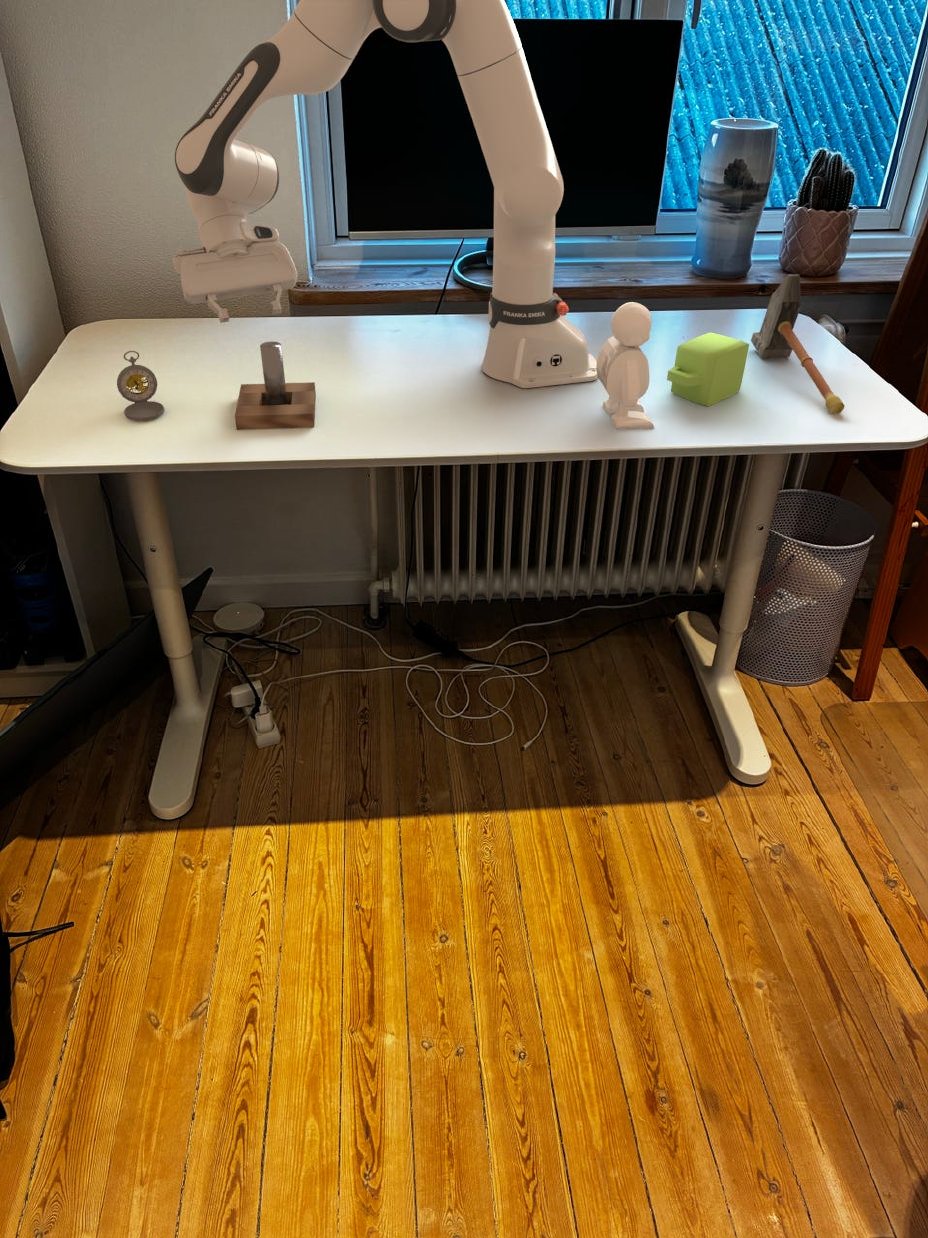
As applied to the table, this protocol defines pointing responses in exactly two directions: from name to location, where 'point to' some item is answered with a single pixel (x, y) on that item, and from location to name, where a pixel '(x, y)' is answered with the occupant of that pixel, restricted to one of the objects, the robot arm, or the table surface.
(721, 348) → the lime green lipped cube
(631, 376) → the toy robot
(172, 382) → the table surface
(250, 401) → the socket plate
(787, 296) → the hammer
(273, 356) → the steel pin
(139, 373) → the pocket watch
